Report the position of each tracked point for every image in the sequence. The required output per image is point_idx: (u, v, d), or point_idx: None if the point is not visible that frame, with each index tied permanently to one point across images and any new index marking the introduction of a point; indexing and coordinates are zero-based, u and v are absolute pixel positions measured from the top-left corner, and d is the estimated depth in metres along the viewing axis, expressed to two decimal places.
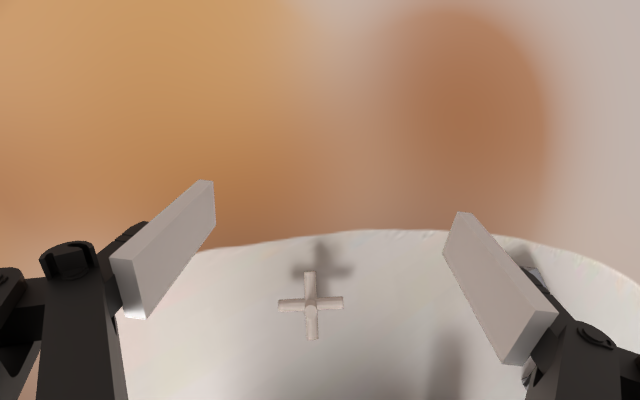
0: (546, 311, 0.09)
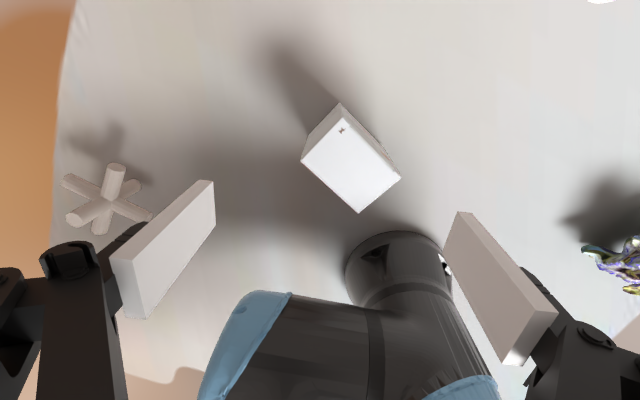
0: (546, 311, 0.09)
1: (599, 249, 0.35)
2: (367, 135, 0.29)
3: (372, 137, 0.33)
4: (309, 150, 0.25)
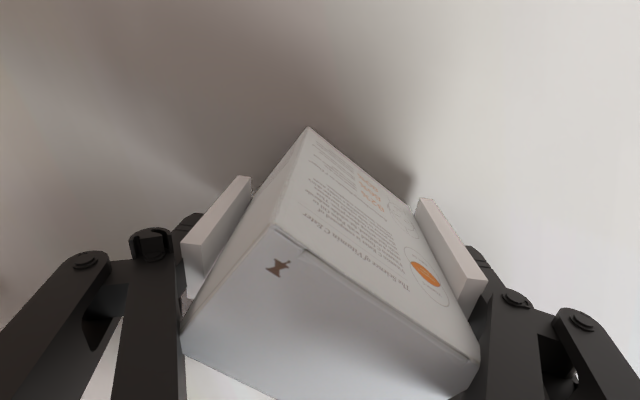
0: (477, 279, 0.10)
1: None
2: (373, 212, 0.12)
3: (385, 195, 0.15)
4: (190, 318, 0.08)
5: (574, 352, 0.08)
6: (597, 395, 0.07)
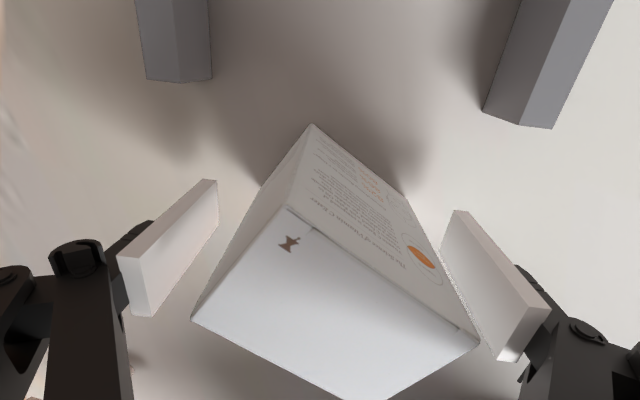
0: (539, 307, 0.09)
1: None
2: (373, 201, 0.13)
3: (384, 188, 0.16)
4: (209, 293, 0.09)
5: None
6: None
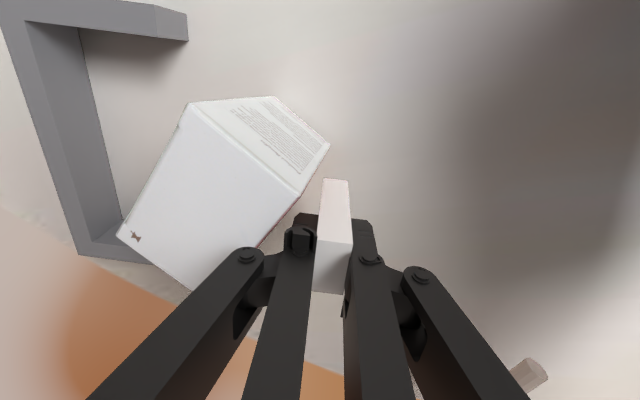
0: (342, 242, 0.11)
1: None
2: None
3: None
4: None
5: (420, 309, 0.09)
6: (441, 344, 0.08)
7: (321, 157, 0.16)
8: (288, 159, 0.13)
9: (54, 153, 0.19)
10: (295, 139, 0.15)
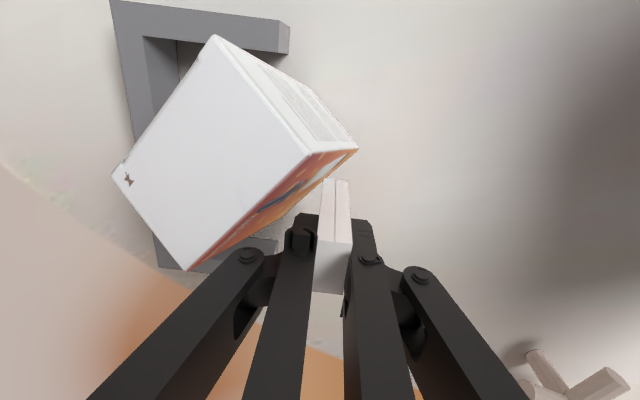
0: (342, 242, 0.11)
1: None
2: None
3: None
4: None
5: (419, 308, 0.09)
6: (441, 344, 0.08)
7: (345, 147, 0.15)
8: (307, 124, 0.11)
9: None
10: (321, 120, 0.14)
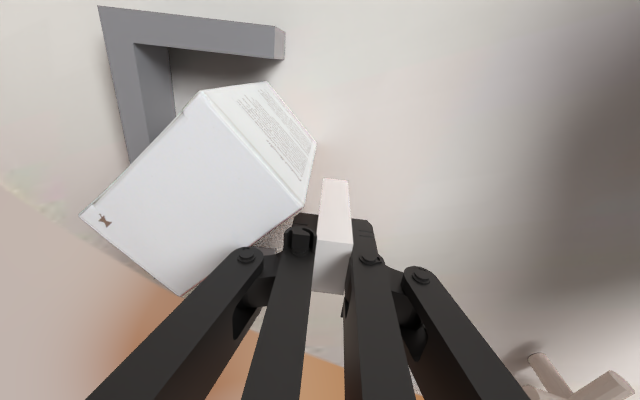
0: (343, 242, 0.11)
1: None
2: None
3: None
4: None
5: (420, 309, 0.09)
6: (441, 344, 0.08)
7: (312, 159, 0.16)
8: (290, 163, 0.12)
9: None
10: (292, 138, 0.15)
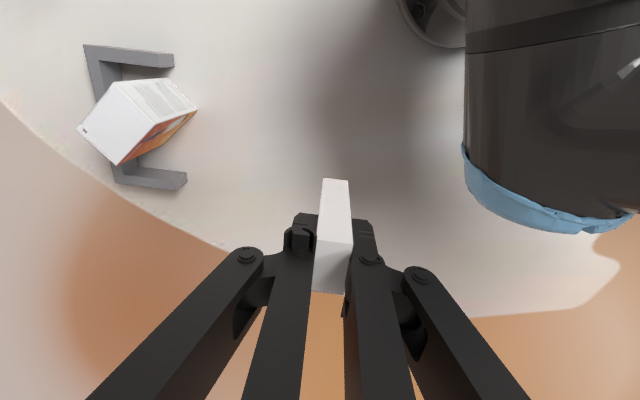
0: (343, 242, 0.11)
1: None
2: None
3: None
4: None
5: (420, 309, 0.09)
6: (441, 344, 0.08)
7: (182, 114, 0.36)
8: (156, 110, 0.32)
9: None
10: (168, 103, 0.34)
